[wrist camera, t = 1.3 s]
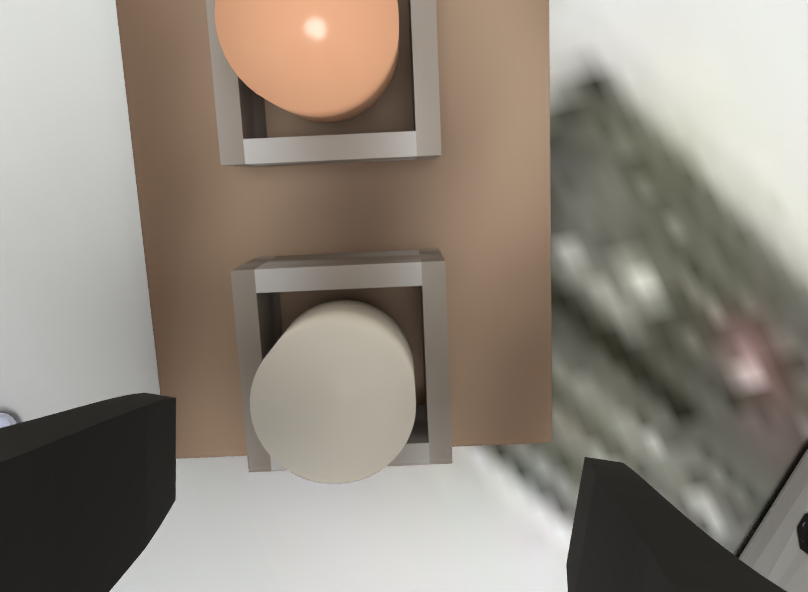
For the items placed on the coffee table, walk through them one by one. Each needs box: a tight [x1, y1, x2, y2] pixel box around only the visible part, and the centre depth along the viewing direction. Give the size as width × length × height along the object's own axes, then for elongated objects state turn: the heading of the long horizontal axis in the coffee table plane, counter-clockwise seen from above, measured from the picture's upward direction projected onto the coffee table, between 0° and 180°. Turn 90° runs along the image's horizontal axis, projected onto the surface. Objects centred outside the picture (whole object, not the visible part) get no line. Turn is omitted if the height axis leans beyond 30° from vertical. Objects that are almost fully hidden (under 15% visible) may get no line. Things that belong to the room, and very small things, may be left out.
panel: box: [116, 0, 552, 472], centre depth 18 cm, size 12×15×4 cm
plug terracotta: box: [215, 0, 399, 123], centre depth 14 cm, size 4×4×3 cm
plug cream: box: [250, 300, 416, 484], centre depth 16 cm, size 4×4×3 cm
